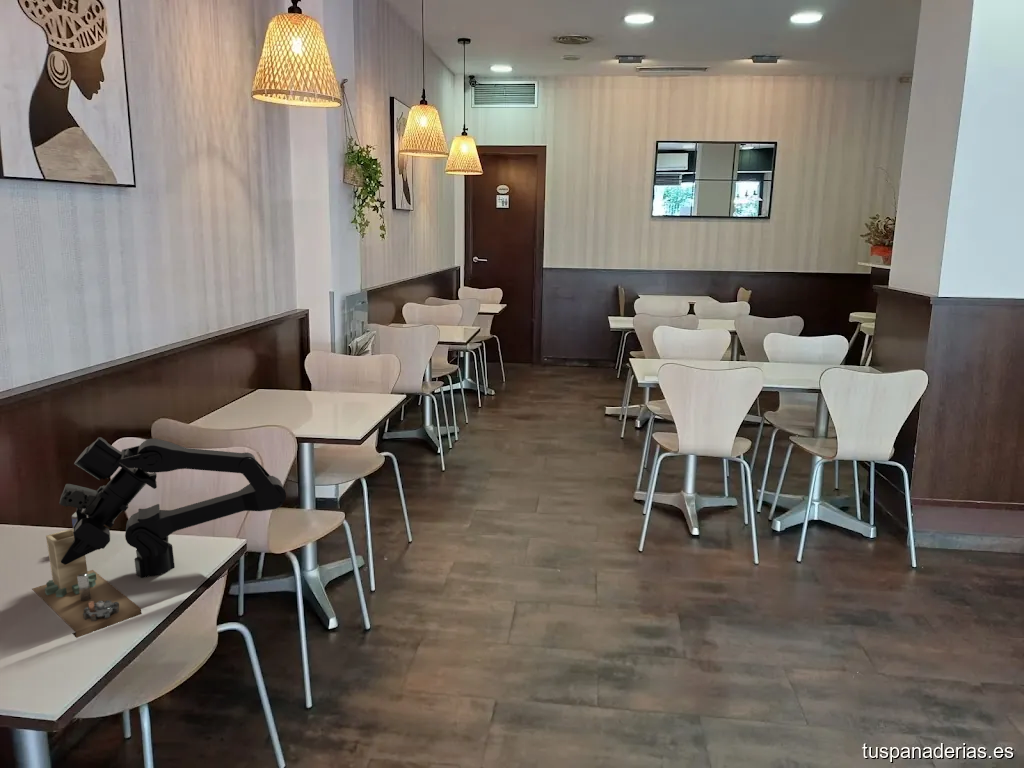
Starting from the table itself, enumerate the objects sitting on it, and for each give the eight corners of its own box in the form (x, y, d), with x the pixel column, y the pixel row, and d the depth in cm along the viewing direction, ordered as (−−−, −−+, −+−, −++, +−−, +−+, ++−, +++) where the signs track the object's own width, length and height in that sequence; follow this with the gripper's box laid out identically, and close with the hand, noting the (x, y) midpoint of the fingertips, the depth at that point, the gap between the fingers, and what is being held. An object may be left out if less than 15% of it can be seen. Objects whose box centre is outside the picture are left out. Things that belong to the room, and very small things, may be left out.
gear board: (93, 575, 160) (92, 569, 160) (141, 614, 143) (140, 608, 143) (32, 594, 152) (32, 588, 152) (76, 637, 135) (75, 631, 135)
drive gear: (112, 602, 146) (110, 588, 145) (124, 612, 142) (122, 598, 141) (78, 613, 142) (76, 600, 141) (90, 624, 138) (88, 610, 137)
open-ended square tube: (87, 572, 159) (80, 522, 157) (103, 585, 153) (96, 534, 151) (39, 587, 152) (31, 536, 150) (54, 601, 146) (46, 548, 144)
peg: (89, 595, 148) (85, 572, 147) (92, 598, 147) (89, 574, 146) (79, 599, 147) (75, 575, 146) (82, 602, 146) (79, 578, 145)
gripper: (85, 457, 158) (31, 517, 155) (81, 483, 142) (21, 551, 139) (131, 487, 163) (80, 545, 160) (133, 515, 147) (76, 581, 144)
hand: (64, 554), depth 151 cm, fingers open, 9 cm apart
